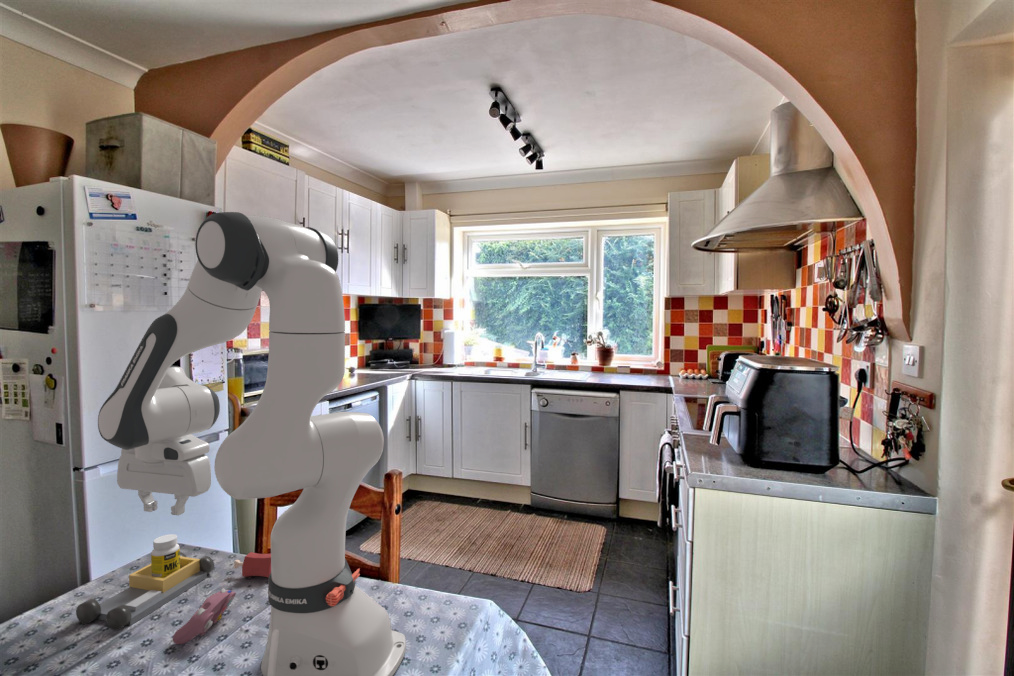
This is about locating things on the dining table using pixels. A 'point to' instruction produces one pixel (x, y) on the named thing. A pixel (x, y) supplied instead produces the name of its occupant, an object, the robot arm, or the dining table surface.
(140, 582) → the chassis
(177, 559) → the supplement bottle
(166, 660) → the dining table surface
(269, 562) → the meat
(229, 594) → the video game controller
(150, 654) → the dining table surface
